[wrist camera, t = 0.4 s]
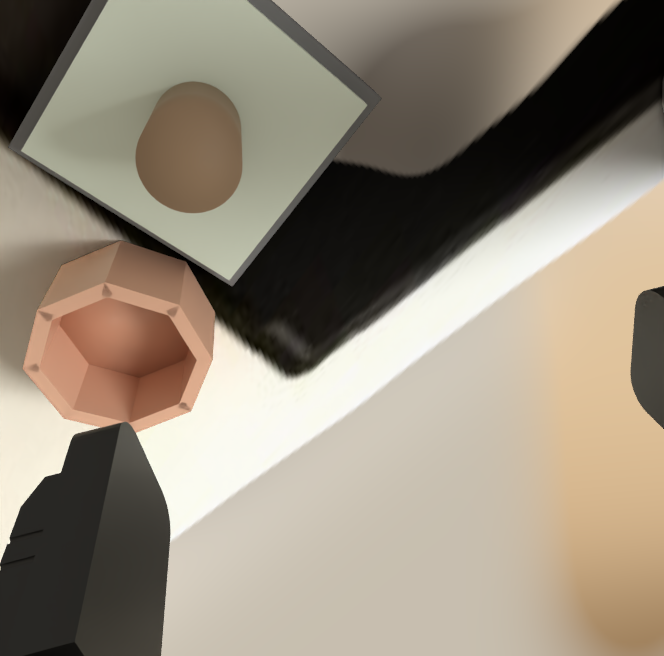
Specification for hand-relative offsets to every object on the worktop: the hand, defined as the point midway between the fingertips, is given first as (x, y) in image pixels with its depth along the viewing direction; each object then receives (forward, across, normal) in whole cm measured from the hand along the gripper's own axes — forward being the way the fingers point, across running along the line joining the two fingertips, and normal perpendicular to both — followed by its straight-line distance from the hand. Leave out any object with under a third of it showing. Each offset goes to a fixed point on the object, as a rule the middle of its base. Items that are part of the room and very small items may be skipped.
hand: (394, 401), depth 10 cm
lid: (+17, +3, -2) cm, 17 cm away
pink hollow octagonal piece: (+19, +9, +6) cm, 22 cm away
